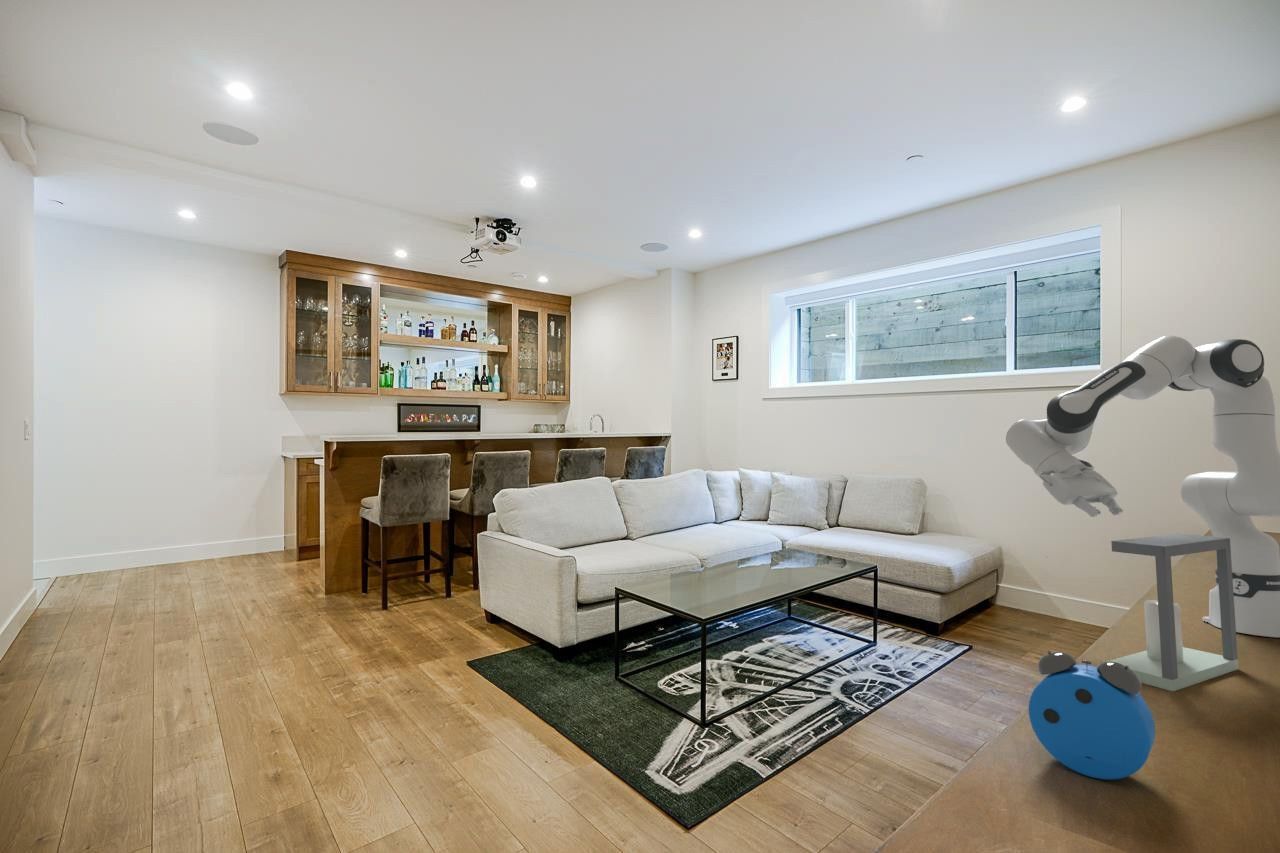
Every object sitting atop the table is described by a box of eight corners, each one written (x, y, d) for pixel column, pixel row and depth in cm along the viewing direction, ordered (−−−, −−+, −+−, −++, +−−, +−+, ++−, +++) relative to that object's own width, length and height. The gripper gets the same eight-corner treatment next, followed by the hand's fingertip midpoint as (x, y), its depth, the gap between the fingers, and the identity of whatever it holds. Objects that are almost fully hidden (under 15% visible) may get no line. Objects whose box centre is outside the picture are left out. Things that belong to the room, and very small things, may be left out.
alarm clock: (1158, 780, 78) (1152, 663, 79) (1152, 799, 73) (1145, 674, 74) (1040, 746, 87) (1036, 642, 88) (1029, 761, 83) (1024, 651, 84)
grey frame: (1170, 653, 129) (1163, 532, 131) (1238, 669, 119) (1229, 538, 121) (1103, 672, 117) (1096, 539, 119) (1173, 691, 108) (1164, 546, 109)
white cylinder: (1155, 652, 123) (1152, 598, 124) (1189, 660, 118) (1185, 604, 119) (1141, 657, 121) (1138, 601, 121) (1175, 665, 116) (1171, 607, 116)
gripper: (1045, 462, 141) (1093, 506, 132) (1093, 462, 150) (1142, 503, 141) (1026, 481, 145) (1072, 525, 136) (1075, 479, 154) (1121, 521, 145)
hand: (1108, 514), depth 138 cm, fingers open, 8 cm apart
